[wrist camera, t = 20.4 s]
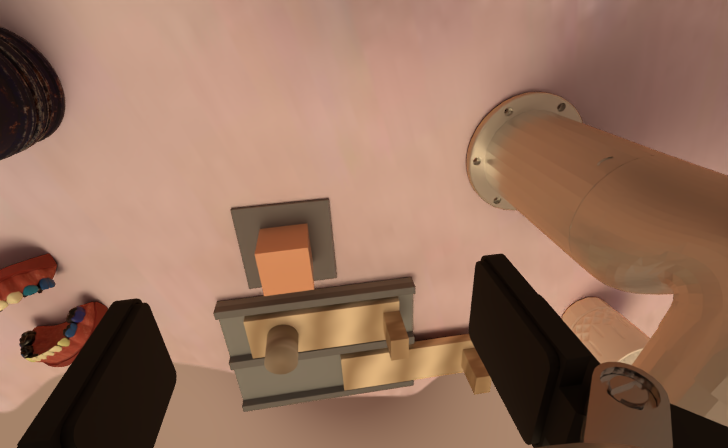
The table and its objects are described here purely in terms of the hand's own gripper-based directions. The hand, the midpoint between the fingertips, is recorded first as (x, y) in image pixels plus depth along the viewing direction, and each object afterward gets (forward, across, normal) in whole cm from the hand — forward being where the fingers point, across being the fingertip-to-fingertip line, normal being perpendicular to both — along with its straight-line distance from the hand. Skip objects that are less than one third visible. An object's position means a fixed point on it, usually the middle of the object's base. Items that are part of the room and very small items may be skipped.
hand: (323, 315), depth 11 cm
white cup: (+28, -35, +31) cm, 55 cm away
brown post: (+26, +6, +25) cm, 37 cm away
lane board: (+28, +2, +29) cm, 41 cm away
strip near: (+27, +1, +25) cm, 37 cm away
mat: (+28, +4, +14) cm, 32 cm away
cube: (+28, +4, +14) cm, 31 cm away
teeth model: (+29, +30, +17) cm, 45 cm away
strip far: (+27, -10, +33) cm, 44 cm away
